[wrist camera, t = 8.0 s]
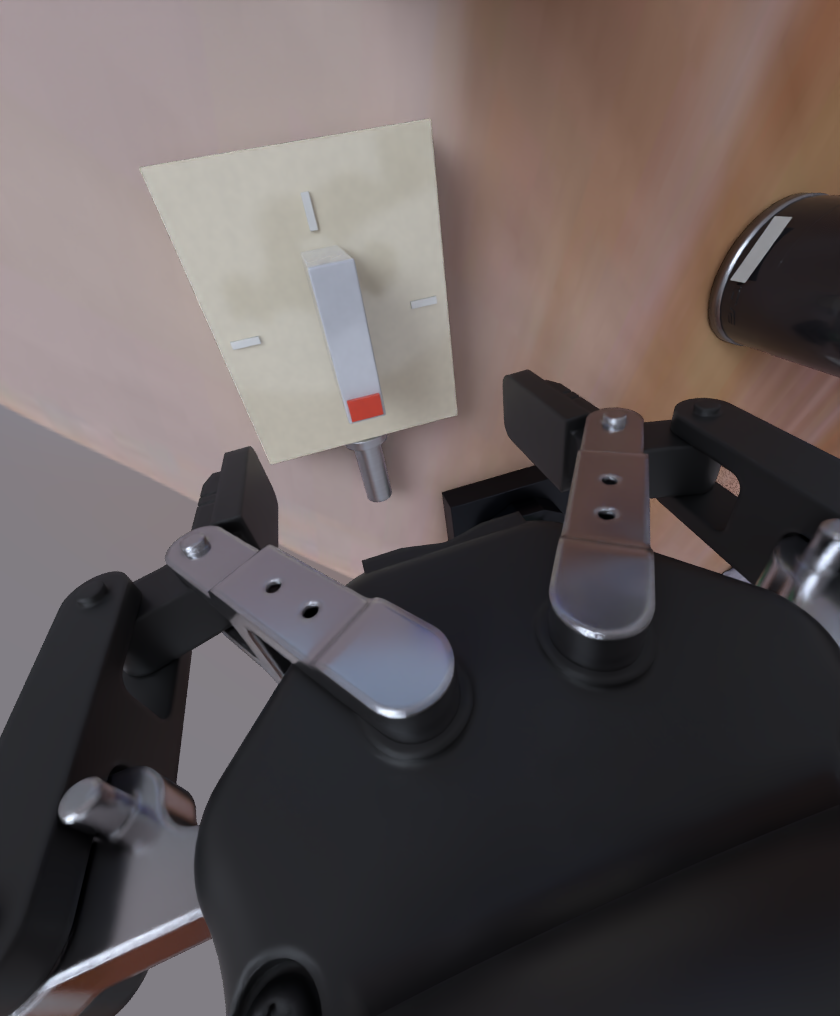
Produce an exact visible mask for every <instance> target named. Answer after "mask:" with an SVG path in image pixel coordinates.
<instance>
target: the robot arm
mask: <svg viewBox="0 0 840 1016" xmlns="http://www.w3.org/2000/svg"><path fill="white" fill-rule="evenodd" d="M709 321H710V325H711V328H712V330H713V331H714V333H715V334H716V336H718V337H719V338H720V339H722V340H724V341H726V342H729V343H732V344H735V345H740V346H747V347H750V348H753V349H755V350H758V351H761V352H764V353H767V354H770V355H772V356H775V357H778V358H782V359H785V360H788V361H791V362H794V363H797V364H800V365H803V366H806V367H809V368H812V369H815V370H818V371H821V372H824V373H827V374H830V375H833V376H836V377H839V378H840V195H828V194H824V193H798V194H794V195H791V196H788V197H786V198H783V199H782V200H780V201H778V202H776V203H775V204H773V205H771V206H770V207H769V208H767V209H766V210H765V211H763V212H762V213H761V214H760V215H759V216H758V217H757V218H755V219H754V220H753V221H752V222H751V223H750V224H749V226H748V227H747V228H746V229H745V230H744V231H743V232H742V234H741V235H740V236H739V237H738V239H737V240H736V241H735V243H734V244H733V246H732V247H731V249H730V250H729V252H728V254H727V255H726V257H725V259H724V261H723V263H722V264H721V266H720V269H719V271H718V273H717V275H716V278H715V281H714V284H713V287H712V291H711V295H710V300H709ZM503 406H504V424H505V429H506V432H507V434H508V436H509V438H510V439H511V440H512V441H513V442H514V443H515V444H516V445H517V447H518V448H519V449H520V450H521V451H522V452H523V453H524V454H525V455H526V456H527V457H528V458H529V459H530V460H531V461H532V462H533V463H534V464H535V465H536V466H537V467H538V468H539V469H540V470H541V472H542V473H543V474H544V475H545V476H546V477H547V478H548V479H549V480H550V481H551V482H552V483H553V484H554V485H555V486H556V487H557V488H558V489H559V490H560V491H561V492H565V491H568V490H570V493H569V498H568V504H567V509H566V514H565V519H564V523H561V522H554V521H542V520H538V521H526V520H525V519H524V518H523V516H522V515H521V514H520V512H519V511H517V512H514V513H511V514H508V515H505V516H501V517H498V518H495V519H492V520H489V521H486V522H482V523H480V524H478V525H476V526H475V527H473V528H471V529H469V530H467V531H466V532H464V533H462V534H460V535H458V536H456V537H455V538H453V539H451V540H449V541H447V542H444V543H438V544H430V545H422V546H414V547H406V548H400V549H397V550H394V551H391V552H388V553H385V554H381V555H378V556H375V557H372V558H369V559H366V560H362V563H363V568H364V572H365V573H363V574H361V575H359V576H358V577H356V578H355V579H353V580H352V581H351V582H349V583H348V584H347V585H346V586H344V585H342V584H341V583H339V582H337V581H336V580H334V579H332V578H330V577H328V576H327V575H325V574H323V573H321V572H320V571H318V570H316V569H314V568H312V567H311V566H309V565H307V564H305V563H304V562H302V561H300V560H298V559H296V558H295V557H293V556H291V555H289V554H287V553H286V552H284V551H282V550H280V549H279V548H278V503H277V498H276V495H275V492H274V490H273V488H272V485H271V483H270V481H269V479H268V477H267V475H266V473H265V471H264V469H263V467H262V465H261V463H260V461H259V459H258V457H257V455H256V453H255V451H254V449H253V448H252V447H251V446H249V447H245V448H241V449H238V450H234V451H231V452H227V453H225V454H224V459H223V463H222V468H221V471H220V472H217V473H213V474H212V475H211V476H210V477H209V479H208V480H207V481H206V482H205V483H204V485H203V487H202V491H201V495H200V497H201V498H200V499H199V503H198V506H199V507H197V510H196V514H195V518H194V522H193V526H192V530H191V531H190V532H188V533H186V534H184V535H183V536H181V537H180V538H179V539H177V540H176V541H175V542H174V543H173V544H172V545H171V546H170V547H169V549H168V550H167V552H166V555H165V561H166V563H167V564H166V565H165V566H163V567H162V568H160V569H158V570H156V571H154V572H152V573H150V574H148V575H146V576H144V577H142V578H141V579H138V580H136V581H134V582H132V581H131V580H130V579H129V577H127V575H126V574H124V573H122V572H108V573H104V574H101V575H99V576H96V577H94V578H92V579H90V580H88V581H86V582H85V583H83V584H82V585H80V586H79V587H78V588H76V589H75V590H74V591H73V592H72V593H71V594H70V595H69V596H68V597H67V598H66V599H65V600H64V602H63V603H62V605H61V607H60V608H59V611H58V613H57V615H56V617H55V619H54V622H53V624H52V626H51V628H50V630H49V632H48V635H47V637H46V639H45V641H44V643H43V645H42V648H41V650H40V652H39V654H38V656H37V658H36V661H35V663H34V665H33V667H32V669H31V672H30V674H29V676H28V678H27V680H26V682H25V685H24V687H23V689H22V691H21V694H20V696H19V698H18V700H17V702H16V704H15V706H14V709H13V711H12V713H11V715H10V717H9V719H8V722H7V724H6V726H5V728H4V730H3V733H2V735H1V737H0V1016H115V1015H116V1014H117V1013H118V1012H119V1011H120V1010H121V1009H122V1008H123V1007H124V1006H125V1005H126V1004H127V1003H128V1002H129V1000H130V999H131V998H132V997H133V995H134V994H135V992H136V991H137V990H138V988H139V986H140V985H141V983H142V981H143V980H144V978H145V976H146V974H147V971H148V970H149V969H150V968H152V967H154V966H156V965H158V964H160V963H162V962H164V961H166V960H168V959H170V958H172V957H175V956H177V955H178V954H181V953H183V952H185V951H187V950H189V949H191V948H193V947H195V946H197V945H199V944H202V943H203V942H205V941H208V940H210V939H212V938H213V942H214V945H215V948H216V952H217V955H218V959H219V964H220V969H221V974H222V979H223V987H224V994H225V1003H226V1016H840V459H839V458H837V457H835V456H833V455H831V454H829V453H827V452H825V451H823V450H821V449H819V448H817V447H815V446H813V445H811V444H809V443H807V442H805V441H803V440H801V439H799V438H797V437H795V436H793V435H791V434H789V433H787V432H785V431H783V430H781V429H779V428H777V427H775V426H774V425H772V424H770V423H768V422H766V421H764V420H762V419H760V418H758V417H756V416H754V415H752V414H750V413H748V412H746V411H744V410H742V409H740V408H738V407H736V406H734V405H732V404H730V403H728V402H725V401H722V400H717V399H710V398H695V399H688V400H685V401H682V402H680V403H678V404H677V405H676V406H675V409H674V413H673V417H672V420H664V421H654V422H644V419H643V417H642V416H641V415H640V414H638V413H637V412H635V411H632V410H629V409H624V408H604V409H598V408H597V407H595V406H594V405H592V404H591V403H589V402H588V401H586V400H585V399H583V398H582V397H579V395H577V394H576V393H574V392H571V390H570V389H568V388H567V387H565V386H563V385H562V384H560V383H556V382H552V381H549V380H543V379H542V378H540V377H539V376H537V375H536V374H534V373H533V372H532V371H530V370H524V371H520V372H517V373H513V374H510V375H506V376H505V377H504V379H503ZM721 465H722V466H723V467H725V468H726V469H728V470H729V471H731V472H732V473H733V474H734V475H735V476H736V477H737V479H738V481H739V484H740V493H739V495H738V497H737V496H735V495H734V494H732V493H731V492H730V491H728V490H727V489H725V488H724V487H723V486H721V485H720V484H718V483H717V482H716V479H717V476H718V473H719V470H720V467H721ZM649 498H656V499H657V500H658V501H659V502H660V503H661V504H662V505H664V506H665V507H666V508H667V509H668V510H669V511H670V512H671V513H673V514H674V515H675V516H676V517H677V518H678V519H679V520H680V521H682V522H683V523H684V524H685V525H686V526H687V527H688V528H689V529H690V530H692V531H693V532H694V533H695V534H696V535H697V536H698V537H699V538H701V539H702V540H703V541H704V542H705V543H706V544H707V545H708V546H710V547H711V548H712V549H713V550H714V551H715V552H716V553H717V554H719V555H720V556H721V557H722V558H723V559H724V560H725V561H726V562H728V563H729V564H730V565H731V566H732V567H733V568H734V569H735V570H736V571H738V572H739V573H740V574H741V575H742V576H743V577H744V578H745V579H747V580H748V581H749V582H750V583H751V584H750V583H747V582H744V581H741V580H738V579H735V578H732V577H729V576H726V575H723V574H720V573H717V572H714V571H710V570H707V569H704V568H701V567H698V566H695V565H692V564H689V563H686V562H683V561H680V560H677V559H674V558H671V557H668V556H665V555H662V554H659V553H656V552H653V550H652V549H651V547H650V500H649ZM221 632H222V633H223V634H224V635H225V636H226V637H227V638H228V639H229V640H231V641H232V642H233V643H234V644H235V645H237V646H238V647H239V648H240V649H241V650H242V651H244V652H245V653H246V654H247V655H248V656H250V657H251V658H252V659H253V660H254V661H255V662H256V663H258V664H259V665H260V666H261V667H262V668H263V669H264V670H265V671H266V672H267V673H268V674H269V675H270V676H271V677H272V678H273V679H274V680H275V681H276V682H277V683H278V686H277V688H276V689H275V691H274V692H273V694H272V696H271V697H270V699H269V701H268V702H267V704H266V705H265V707H264V709H263V710H262V712H261V713H260V715H259V717H258V718H257V720H256V722H255V723H254V725H253V726H252V728H251V730H250V731H249V733H248V735H247V736H246V738H245V739H244V741H243V743H242V744H241V746H240V747H239V749H238V751H237V752H236V754H235V756H234V757H233V759H232V760H231V762H230V764H229V765H228V767H227V768H226V770H225V772H224V773H223V775H222V776H221V778H220V780H219V782H218V783H217V785H216V787H215V789H214V790H213V792H212V794H211V796H210V798H209V801H208V803H207V805H206V808H205V810H204V814H203V817H202V820H201V823H200V825H197V822H196V806H195V802H194V800H193V798H192V796H191V795H190V793H189V792H188V791H186V790H185V789H183V788H182V787H180V786H178V785H177V784H176V781H177V772H178V764H179V755H180V747H181V738H182V730H183V721H184V713H185V705H186V697H187V688H188V680H189V671H190V663H191V655H192V650H193V649H194V648H196V647H198V646H199V645H201V644H203V643H204V642H206V641H208V640H209V639H211V638H213V637H214V636H216V635H218V634H219V633H221Z"/></svg>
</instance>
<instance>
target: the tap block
mask: <svg viewBox="0 0 840 1016" xmlns="http://www.w3.org/2000/svg"><path fill="white" fill-rule="evenodd" d="M140 172H141V174H142V176H143V179H144V181H145V183H146V185H147V188H148V190H149V192H150V194H151V197H152V199H153V201H154V203H155V206H156V208H157V210H158V212H159V215H160V217H161V219H162V221H163V224H164V226H165V228H166V231H167V233H168V235H169V237H170V240H171V242H172V244H173V246H174V249H175V251H176V253H177V255H178V258H179V260H180V262H181V264H182V267H183V269H184V271H185V273H186V276H187V278H188V280H189V282H190V285H191V287H192V289H193V291H194V294H195V296H196V298H197V301H198V303H199V305H200V307H201V310H202V312H203V314H204V316H205V319H206V321H207V323H208V325H209V328H210V330H211V332H212V334H213V337H214V339H215V341H216V343H217V346H218V348H219V350H220V352H221V355H222V357H223V359H224V361H225V364H226V366H227V368H228V371H229V373H230V375H231V377H232V380H233V382H234V384H235V386H236V389H237V391H238V393H239V395H240V398H241V400H242V402H243V404H244V407H245V409H246V411H247V413H248V416H249V418H250V420H251V422H252V425H253V427H254V429H255V431H256V434H257V436H258V438H259V441H260V443H261V445H262V447H263V450H264V452H265V454H266V456H267V459H268V461H269V463H270V465H273V464H276V463H280V462H284V461H288V460H291V459H295V458H299V457H303V456H306V455H310V454H314V453H318V452H321V451H325V450H329V449H333V448H336V447H340V446H344V445H348V444H351V443H355V442H359V441H363V440H366V439H370V438H374V437H378V436H381V435H385V434H389V433H392V432H396V431H400V430H404V429H407V428H411V427H415V426H419V425H422V424H426V423H430V422H434V421H437V420H441V419H445V418H449V417H452V416H456V415H457V414H458V413H457V402H456V391H455V380H454V368H453V357H452V346H451V335H450V324H449V313H448V302H447V290H446V279H445V268H444V257H443V246H442V235H441V224H440V213H439V201H438V190H437V179H436V168H435V157H434V146H433V135H432V123H431V119H423V120H417V121H411V122H405V123H399V124H393V125H387V126H381V127H375V128H370V129H364V130H358V131H352V132H346V133H340V134H334V135H328V136H322V137H316V138H310V139H304V140H298V141H292V142H286V143H280V144H274V145H268V146H263V147H257V148H251V149H245V150H239V151H233V152H227V153H221V154H215V155H209V156H203V157H197V158H191V159H185V160H179V161H173V162H167V163H161V164H156V165H150V166H144V167H140ZM335 245H337V246H339V247H340V248H341V249H342V250H344V251H345V252H346V253H347V254H348V255H350V256H351V257H352V258H353V259H354V260H355V264H356V269H357V274H358V279H359V284H360V289H361V293H362V298H363V303H364V308H365V313H366V318H367V323H368V328H369V333H370V337H371V342H372V347H373V352H374V357H375V362H376V367H377V372H378V377H379V381H380V386H381V391H382V396H383V401H384V406H385V411H386V415H384V416H380V417H376V418H372V419H368V420H364V421H360V422H356V423H352V424H350V423H349V422H348V419H347V416H346V413H345V410H344V407H343V404H342V401H341V398H340V395H339V392H338V389H337V386H336V382H335V379H334V375H333V371H332V368H331V364H330V360H329V357H328V353H327V350H326V346H325V342H324V339H323V335H322V331H321V328H320V324H319V320H318V317H317V313H316V310H315V306H314V302H313V299H312V295H311V291H310V288H309V284H308V280H307V277H306V273H305V269H304V266H303V262H302V259H301V255H300V254H301V252H304V251H309V250H314V249H320V248H325V247H330V246H335Z"/></svg>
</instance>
